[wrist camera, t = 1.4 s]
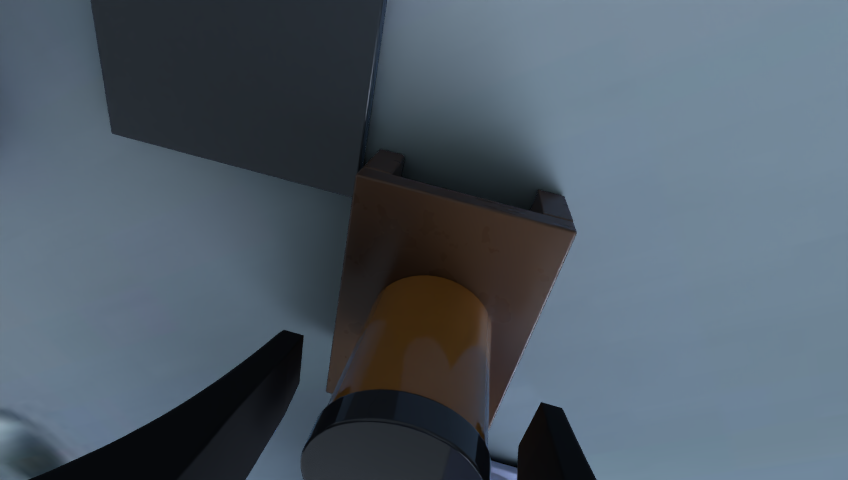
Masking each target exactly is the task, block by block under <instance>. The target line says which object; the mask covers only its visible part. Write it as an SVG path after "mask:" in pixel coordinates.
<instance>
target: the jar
mask: <svg viewBox="0 0 848 480" xmlns="http://www.w3.org/2000/svg"><path fill="white" fill-rule="evenodd" d="M491 334H492V330H491V321H490V317H489V315H488V312H487V310H486V309H485V307H484V305H483V304H482V303H481V301H480V300H479V299H478V298H477V297H476V296H475V295H474V294H473V293H472V292H471V291H470V290H468V289H467V288H465V287H464V286H462V285H460V284H459V283H456V282H454V281H452V280H449V279H446V278H442V277H438V276H430V275H417V276H410V277H406V278H403V279H400V280H398V281H395V282H394V283H392V284H390V285H389V286H387V287H386V288H385V289H384V290H383V291H382V292H381V293H380V294H379V295H378V297H377V298H376V300H375V302H374V304H373V306H372V308H371V311H370V313H369V315H368V317H367V319H366V322H365V324H364V326H363V328H362V330H361V333H360V335H359V337H358V339H357V341H356V344H355V346H354V348H353V350H352V352H351V355H350V357H349V359H348V361H347V363H346V366H345V368H344V370H343V372H342V374H341V377H340V379H339V381H338V383H337V385H336V388H335V390H334V392H333V394H332V396H331V399H330V401H329V403H328V405H327V407H326V408H325V409H324V410H323V411H322V412H321V413H320V415H319V416H318V418H317V420H316V422H315V424H314V427H313V429H312V431H311V433H310V435H309V437H308V439H307V442H306V444H305V446H304V448H303V450H302V454H301V472H302V476H303V479H304V480H491V458H490V454H489V451H488V426H489V396H490V365H491Z"/></svg>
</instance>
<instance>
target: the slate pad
mask: <svg viewBox="0 0 848 480" xmlns="http://www.w3.org/2000/svg"><path fill="white" fill-rule="evenodd" d="M91 6H92V13H93V19H94V25H95V31H96V38H97V44H98V50H99V56H100V63H101V69H102V75H103V81H104V88H105V94H106V100H107V107H108V113H109V119H110V125H111V132H112V134H115V135H119V136H123V137H127V138H130V139H134V140H138V141H142V142H146V143H149V144H153V145H157V146H161V147H164V148H168V149H172V150H176V151H179V152H183V153H187V154H191V155H194V156H198V157H202V158H206V159H209V160H213V161H217V162H221V163H225V164H228V165H232V166H236V167H240V168H243V169H247V170H251V171H255V172H258V173H262V174H266V175H270V176H273V177H277V178H281V179H285V180H288V181H292V182H296V183H300V184H304V185H307V186H311V187H315V188H319V189H322V190H326V191H330V192H334V193H337V194H341V195H345V196H349V197H353V190H354V182H355V175H356V174H357V173H358V172H359V171H360V170H361V169H362V168H363V165H364V158H365V151H366V144H367V137H368V130H369V123H370V116H371V110H372V103H373V96H374V89H375V82H376V75H377V68H378V61H379V54H380V48H381V41H382V34H383V27H384V20H385V13H386V6H387V0H91Z"/></svg>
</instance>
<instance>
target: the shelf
mask: <svg viewBox="0 0 848 480" xmlns="http://www.w3.org/2000/svg"><path fill="white" fill-rule="evenodd" d="M404 159H405V157H404V155H402V154H398V153H394V152H390V151H386V150H383V149H380V150H379V151H378V152H377V153H376V154H375V155H374V156H373V157H372V158H371V159H370V160H369V161H368V162H367V164H366V165H365V166H364V167H363V168H362V169H361V170H360V171H359V172H358V173H357V174H356V175H355V182H354V190H353V197H352V204H351V212H350V219H349V226H348V233H347V241H346V248H345V255H344V263H343V270H342V277H341V285H340V292H339V299H338V306H337V314H336V321H335V328H334V336H333V343H332V350H331V357H330V365H329V372H328V379H327V387H326V392H328V393H331V394H333V392H334V390H335V388H336V385H337V383H338V381H339V379H340V377H341V374H342V372H343V370H344V368H345V366H346V363H347V361H348V359H349V357H350V355H351V352H352V350H353V348H354V346H355V344H356V341H357V339H358V337H359V335H360V333H361V330H362V328H363V326H364V324H365V322H366V319H367V317H368V315H369V313H370V311H371V308H372V306H373V304H374V302H375V300H376V298H377V297H378V295H379V294H380V293H381V292H382V291H383V290H384V289H385V288H386V287H387V286H389V285H390V284H392V283H394V282H395V281H398V280H400V279H403V278H406V277H410V276H417V275H430V276H438V277H442V278H446V279H449V280H452V281H454V282H456V283H459V284H460V285H462V286H464V287H465V288H467V289H468V290H470V291H471V292H472V293H473V294H474V295H475V296H476V297H477V298H478V299H479V300H480V301H481V303H482V304H483V305H484V307H485V309H486V310H487V312H488V315H489V317H490V321H491V330H492V334H491V365H490V396H489V426H488V431H489V429H490V426H491V424H492V422H493V420H494V417H495V415H496V413H497V411H498V408H499V406H500V404H501V402H502V399H503V397H504V395H505V393H506V391H507V388H508V386H509V384H510V382H511V379H512V377H513V375H514V373H515V370H516V368H517V366H518V364H519V361H520V359H521V357H522V355H523V352H524V350H525V348H526V346H527V343H528V341H529V339H530V337H531V335H532V332H533V330H534V328H535V326H536V323H537V321H538V319H539V317H540V314H541V312H542V310H543V308H544V305H545V303H546V301H547V299H548V296H549V294H550V292H551V290H552V287H553V285H554V283H555V281H556V279H557V276H558V274H559V272H560V270H561V267H562V265H563V263H564V261H565V258H566V256H567V254H568V252H569V249H570V247H571V245H572V243H573V240H574V238H575V236H576V234H577V232H576V229H575V226H574V223H573V219H572V216H571V214H570V211H569V208H568V205H567V202H566V200H565V197H564V196H561V195H557V194H554V193H550V192H546V191H542V190H538V191H537V194H536V196H535V199H534V202H533V204H532V207H531V210H530V211H529V210H525V209H521V208H517V207H514V206H510V205H506V204H502V203H498V202H495V201H491V200H487V199H483V198H479V197H475V196H472V195H468V194H464V193H460V192H456V191H453V190H449V189H445V188H441V187H437V186H434V185H430V184H426V183H422V182H418V181H414V180H411V179H407V178H403V177H401V175H402V170H403V164H404Z"/></svg>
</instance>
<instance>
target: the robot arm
mask: <svg viewBox="0 0 848 480" xmlns="http://www.w3.org/2000/svg"><path fill="white" fill-rule="evenodd" d="M303 337H304V335H300V334H297V333H293V332H290V331H286V330H283V331H281V332H280V333H278V334H277V335H276V336H275V337H274V338H272V339H271V340H270V341H269V342H267V343H266V344H265V345H264V346H262V347H261V348H260V349H259V350H257V351H256V352H255V353H254V354H252V355H251V356H250V357H248V358H247V359H246V360H245V361H243V362H242V363H241V364H239V365H238V366H236V367H235V368H234V369H232V370H231V371H230V372H228V373H227V374H226V375H224V376H223V377H221V378H220V379H219V380H217V381H216V382H214V383H213V384H211V385H210V386H208V387H207V388H205V389H204V390H202V391H201V392H199V393H198V394H196V395H195V396H193V397H192V398H190V399H189V400H187V401H185V402H184V403H182V404H181V405H179V406H177V407H176V408H174V409H172V410H171V411H169V412H167V413H166V414H164V415H162V416H161V417H159V418H157V419H155V420H154V421H152V422H150V423H148V424H146V425H144V426H143V427H141V428H139V429H137V430H135V431H133V432H131V433H129V434H128V435H126V436H124V437H122V438H120V439H118V440H116V441H114V442H112V443H110V444H108V445H106V446H104V447H102V448H100V449H97V450H95V451H93V452H91V453H89V454H86V455H84V456H82V457H80V458H78V459H75V460H73V461H71V462H69V463H67V464H64V465H62V466H60V467H58V468H56V469H53V470H51V471H49V472H46V473H44V474H41V475H39V476H36V477H34V478H31V479H29V480H246V478H247V476H248V475H249V473H250V471H251V470H252V468H253V466H254V465H255V463H256V461H257V460H258V458H259V456H260V455H261V453H262V452H263V450H264V448H265V447H266V445H267V443H268V442H269V440H270V438H271V437H272V435H273V433H274V432H275V430H276V428H277V427H278V425H279V423H280V422H281V420H282V418H283V417H284V415H285V413H286V411H287V409H288V407H289V404H290V402H291V400H292V398H293V396H294V394H295V391H296V389H297V387H298V385H299V382H300V371H301V359H302V348H303ZM491 480H596V478H595V476H594V474H593V472H592V470H591V468H590V466H589V464H588V462H587V460H586V458H585V456H584V454H583V452H582V449H581V447H580V445H579V443H578V441H577V439H576V437H575V435H574V432H573V430H572V428H571V426H570V424H569V422H568V419H567V417H566V415H565V413H564V411H563V409H562V408H560V407H556V406H552V405H549V404H545V403H542V402H541V404H540V405H539V407H538V409H537V411H536V413H535V415H534V417H533V419H532V421H531V423H530V425H529V427H528V429H527V431H526V432H525V434H524V436H523V438H522V440H521V442H520V444H519V448H518V465H517V468H516V467H512V466H509V465H505V464H502V463H498V462H495V461H491Z"/></svg>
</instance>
